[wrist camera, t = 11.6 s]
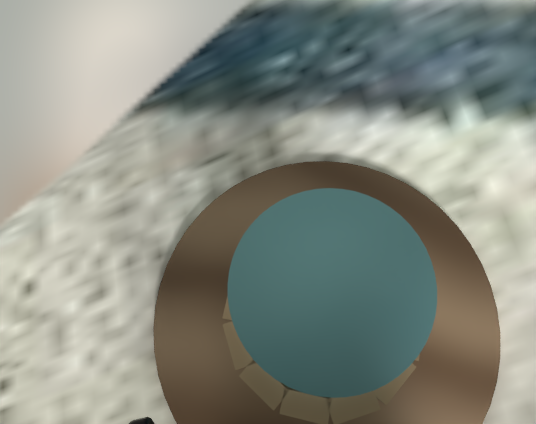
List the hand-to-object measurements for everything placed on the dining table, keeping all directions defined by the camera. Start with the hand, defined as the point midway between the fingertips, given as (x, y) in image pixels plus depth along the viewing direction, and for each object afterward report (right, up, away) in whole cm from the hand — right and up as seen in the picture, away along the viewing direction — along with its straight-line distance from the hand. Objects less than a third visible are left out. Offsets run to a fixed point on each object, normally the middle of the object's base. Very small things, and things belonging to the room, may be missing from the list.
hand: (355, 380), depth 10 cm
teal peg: (+1, -2, +12) cm, 13 cm away
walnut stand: (+1, -2, +13) cm, 13 cm away
